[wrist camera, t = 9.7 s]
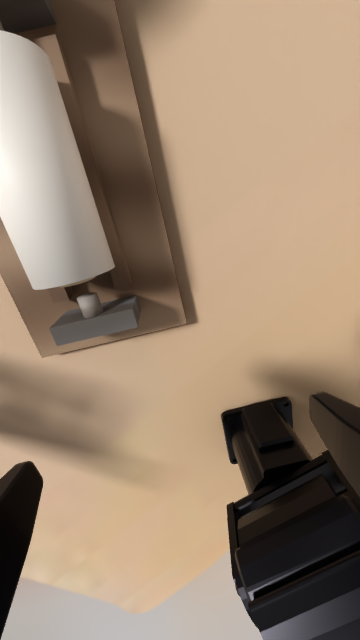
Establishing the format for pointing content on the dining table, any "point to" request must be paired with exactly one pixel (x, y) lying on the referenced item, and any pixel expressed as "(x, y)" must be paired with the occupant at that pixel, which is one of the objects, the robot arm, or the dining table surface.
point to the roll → (44, 175)
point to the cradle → (97, 185)
